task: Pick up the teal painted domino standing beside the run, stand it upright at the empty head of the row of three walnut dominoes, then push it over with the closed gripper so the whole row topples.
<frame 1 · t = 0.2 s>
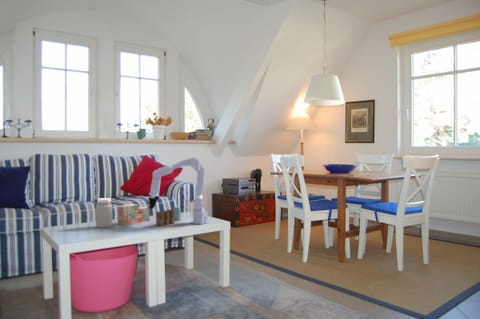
hand: (152, 207, 259), 11 cm above the table, tool pointing down, fingers open, 7 cm apart
domino 3: (165, 224, 255), on the table
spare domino: (177, 220, 272), on the table
jar: (104, 227, 247), on the table
domino 4: (160, 225, 251), on the table
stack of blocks: (134, 222, 263), on the table
domino 2: (170, 223, 259), on the table
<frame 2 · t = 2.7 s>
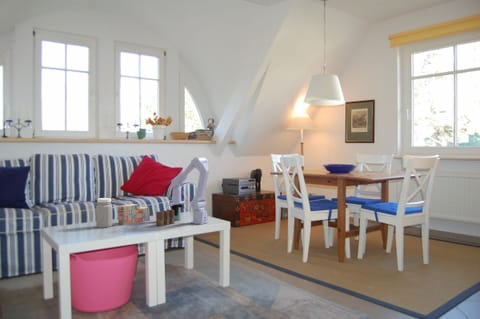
hand: (177, 215, 272), 3 cm above the table, tool pointing down, fingers closed on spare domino, 2 cm apart
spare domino: (177, 220, 272), on the table, touching gripper
everything else where it was.
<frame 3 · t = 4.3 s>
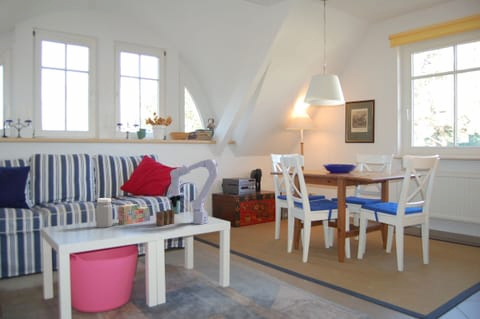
hand: (175, 207, 264), 10 cm above the table, tool pointing down, fingers closed on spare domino
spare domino: (175, 213, 264), point 6 cm above the table, touching gripper
everything else where it was.
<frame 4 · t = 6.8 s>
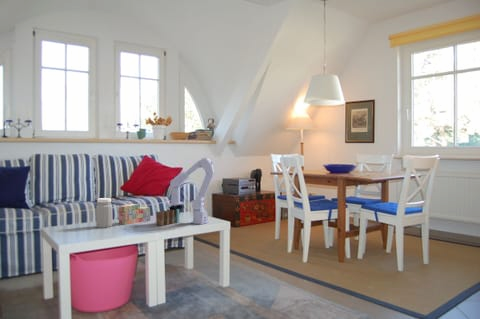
hand: (175, 216, 264), 4 cm above the table, tool pointing down, fingers open, 4 cm apart
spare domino: (175, 222, 264), on the table
everything else where it was.
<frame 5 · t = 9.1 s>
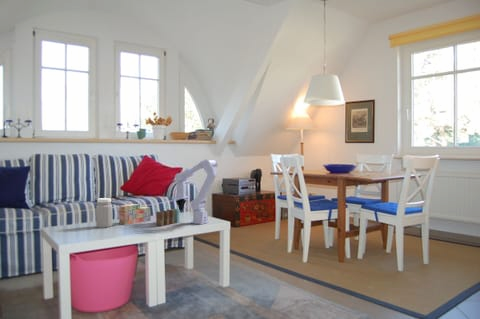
hand: (181, 210, 268), 7 cm above the table, tool pointing down, fingers closed
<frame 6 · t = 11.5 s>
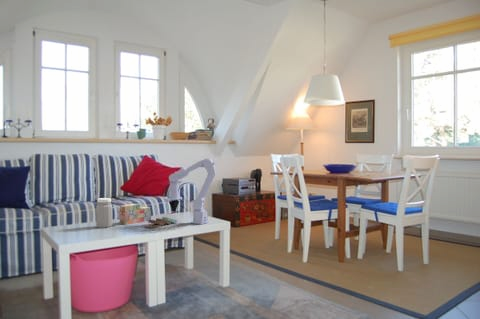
hand: (174, 211, 262), 7 cm above the table, tool pointing down, fingers closed
domino 3: (161, 223, 253), point 1 cm above the table, tilted 72°
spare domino: (174, 221, 262), point 1 cm above the table, tilted 70°, touching domino 2
domino 4: (158, 225, 250), on the table, tilted 90°
domino 2: (168, 222, 258), point 1 cm above the table, tilted 71°, touching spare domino
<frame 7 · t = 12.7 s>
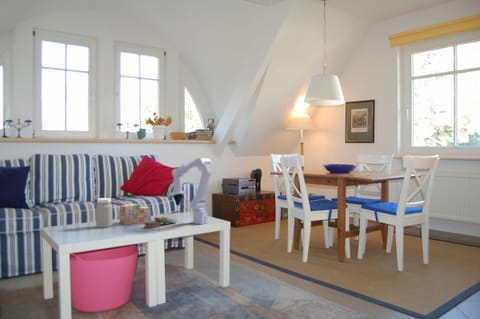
hand: (177, 205, 273), 10 cm above the table, tool pointing down, fingers closed
domino 3: (158, 222, 251), point 2 cm above the table, tilted 90°
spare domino: (173, 221, 261), point 1 cm above the table, tilted 69°
domino 2: (167, 222, 257), point 1 cm above the table, tilted 65°
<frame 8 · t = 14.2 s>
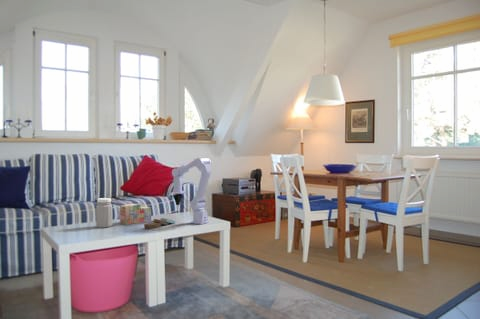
hand: (177, 204, 274), 10 cm above the table, tool pointing down, fingers closed
domino 3: (157, 223, 248), point 2 cm above the table, tilted 90°, touching domino 2, domino 4
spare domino: (172, 222, 260), point 1 cm above the table, tilted 72°, touching domino 2
domino 4: (157, 226, 248), on the table, tilted 90°, touching domino 3
domino 2: (164, 223, 255), point 1 cm above the table, tilted 71°, touching domino 3, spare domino
at the end: domino 4 tilted 90°; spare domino tilted 72°; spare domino inside the target area (2.2 cm from its centre), point 0.8 cm above the table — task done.
